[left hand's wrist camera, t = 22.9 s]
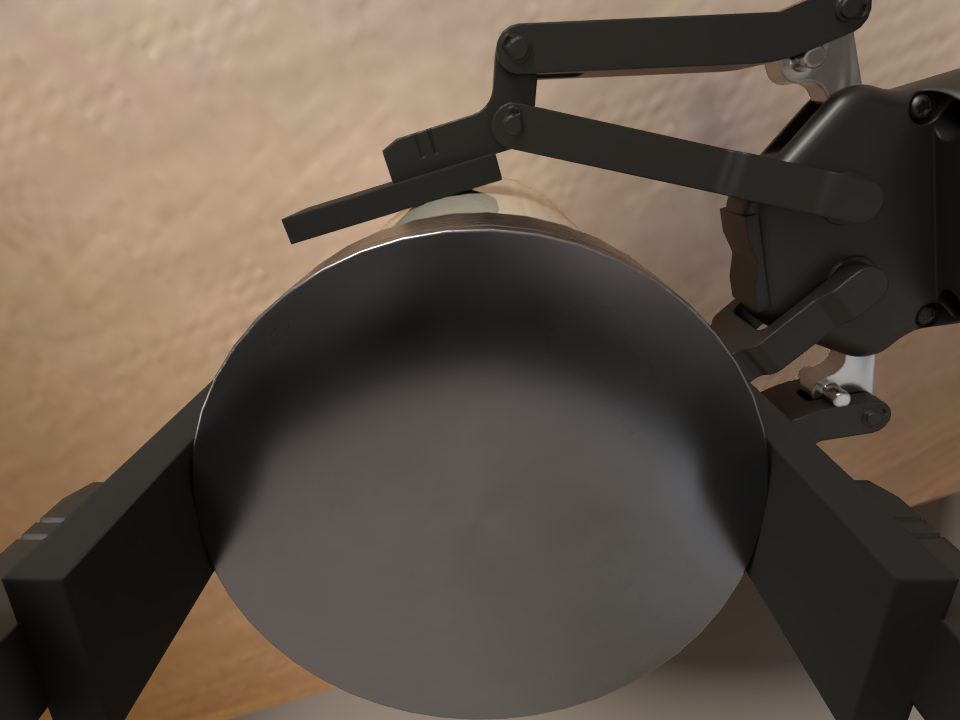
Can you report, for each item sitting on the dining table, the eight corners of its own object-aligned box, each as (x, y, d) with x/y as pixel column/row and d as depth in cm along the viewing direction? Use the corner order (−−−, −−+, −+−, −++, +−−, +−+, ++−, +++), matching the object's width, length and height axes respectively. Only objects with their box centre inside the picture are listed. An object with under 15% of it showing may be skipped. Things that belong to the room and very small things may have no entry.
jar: (571, 154, 24) (711, 190, 9) (599, 365, 27) (734, 632, 13) (347, 200, 24) (157, 300, 10) (401, 401, 28) (317, 693, 13)
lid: (494, 81, 10) (498, 69, 8) (822, 470, 12) (880, 528, 11) (133, 450, 12) (73, 506, 10) (470, 707, 15) (469, 788, 13)
